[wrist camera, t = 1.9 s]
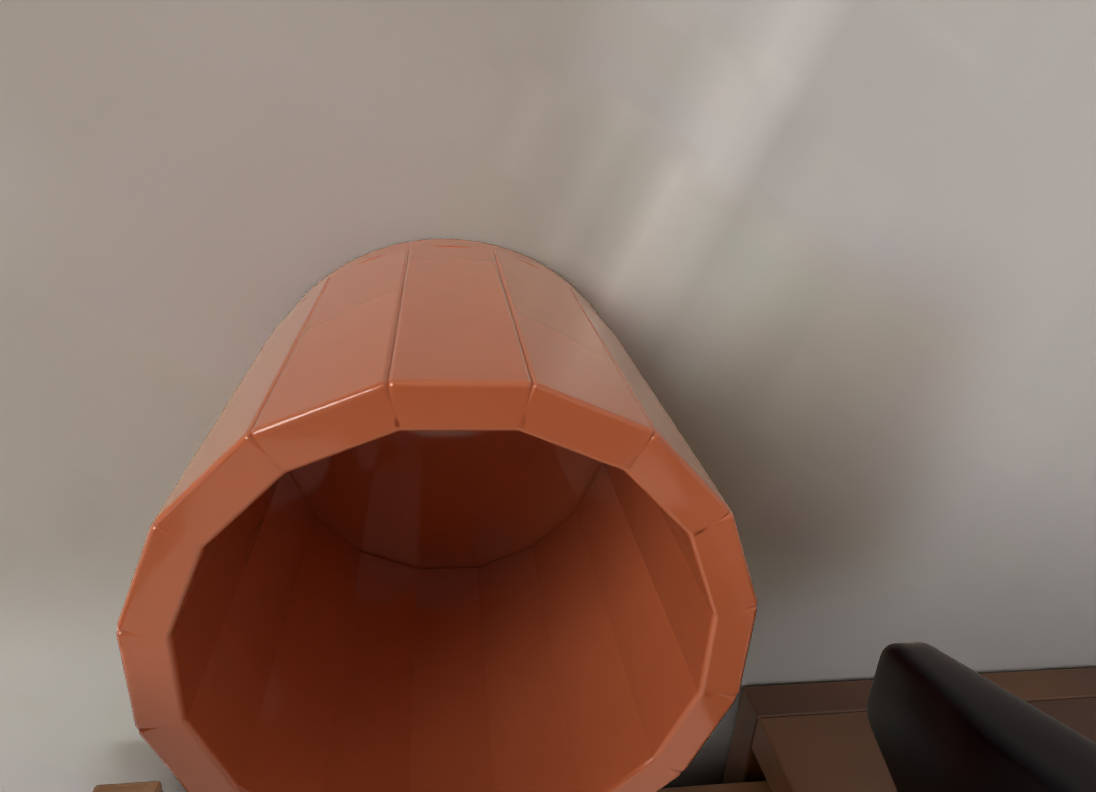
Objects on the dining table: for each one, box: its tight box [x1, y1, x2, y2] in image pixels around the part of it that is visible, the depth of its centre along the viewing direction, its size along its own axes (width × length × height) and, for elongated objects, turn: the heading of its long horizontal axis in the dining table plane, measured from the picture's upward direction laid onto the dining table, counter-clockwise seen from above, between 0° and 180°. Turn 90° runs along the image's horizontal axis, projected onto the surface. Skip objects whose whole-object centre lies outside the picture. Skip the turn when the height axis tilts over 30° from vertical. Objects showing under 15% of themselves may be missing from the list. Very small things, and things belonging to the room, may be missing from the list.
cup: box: [117, 239, 757, 792], centre depth 10 cm, size 6×6×6 cm
